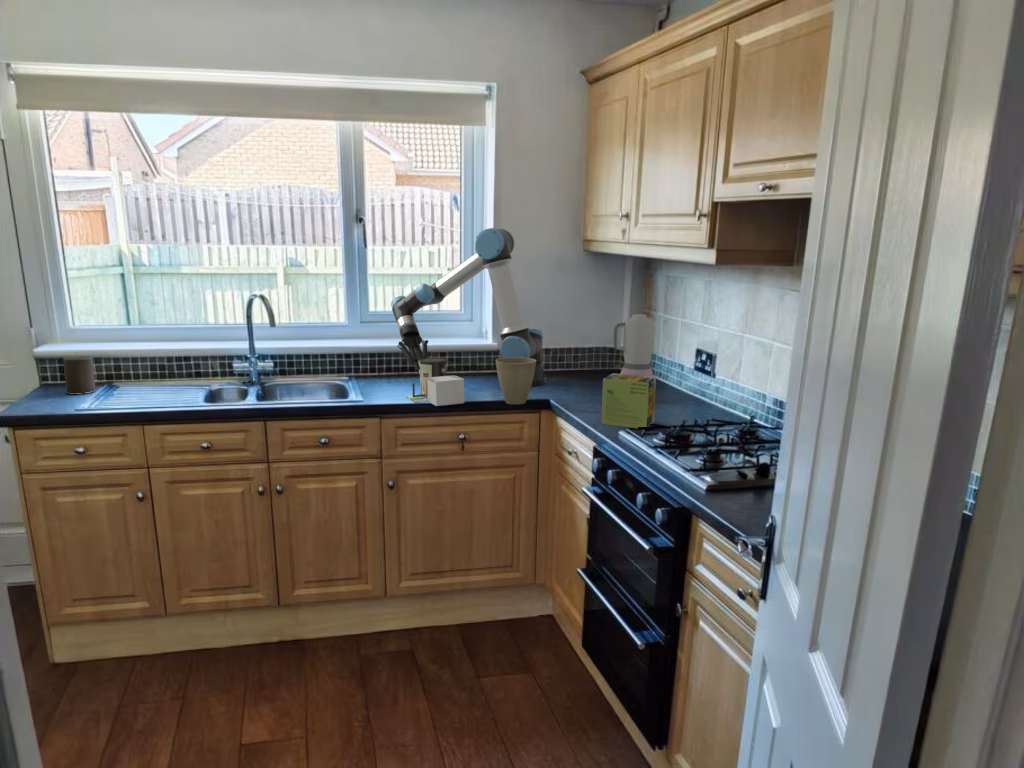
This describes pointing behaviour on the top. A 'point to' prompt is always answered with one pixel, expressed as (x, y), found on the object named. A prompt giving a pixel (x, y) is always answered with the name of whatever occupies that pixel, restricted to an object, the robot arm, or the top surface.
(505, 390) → the plant pot
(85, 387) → the pillar candle
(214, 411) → the top surface
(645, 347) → the blender
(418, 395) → the gauge plunger
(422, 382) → the coffee can
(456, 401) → the gauge frame
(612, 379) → the protein box
